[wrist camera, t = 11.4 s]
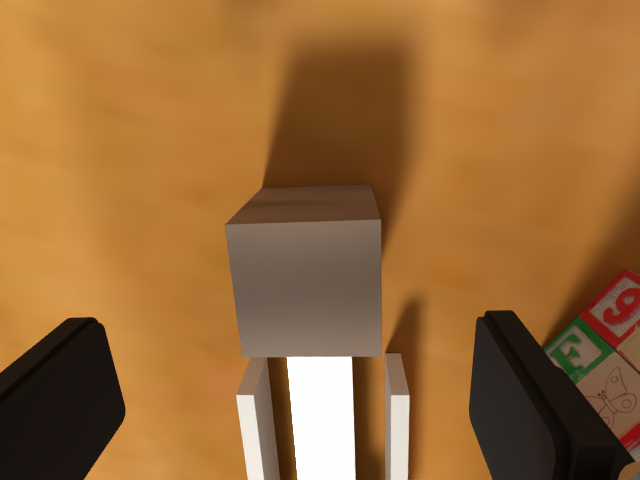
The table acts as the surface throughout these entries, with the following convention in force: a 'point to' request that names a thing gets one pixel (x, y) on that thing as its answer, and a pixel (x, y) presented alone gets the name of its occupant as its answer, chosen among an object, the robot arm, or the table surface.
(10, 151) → the table surface
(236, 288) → the block
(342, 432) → the rod
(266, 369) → the channel
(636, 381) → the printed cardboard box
